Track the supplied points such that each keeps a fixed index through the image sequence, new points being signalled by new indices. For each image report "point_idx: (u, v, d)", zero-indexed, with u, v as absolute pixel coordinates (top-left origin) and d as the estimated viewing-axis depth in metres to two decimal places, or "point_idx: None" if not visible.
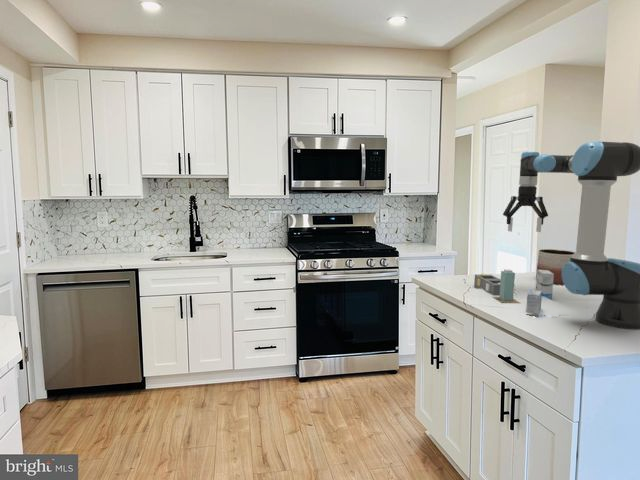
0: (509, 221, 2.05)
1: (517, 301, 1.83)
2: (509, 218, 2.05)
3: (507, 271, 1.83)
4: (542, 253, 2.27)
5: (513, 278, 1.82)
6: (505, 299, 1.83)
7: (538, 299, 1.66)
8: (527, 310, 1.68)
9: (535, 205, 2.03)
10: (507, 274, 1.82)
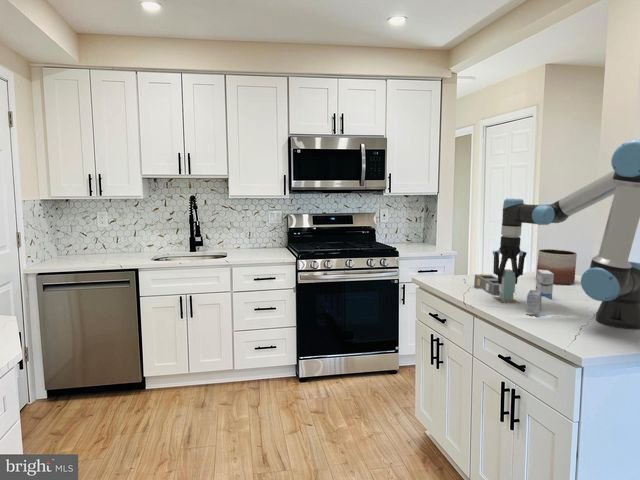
0: (500, 281, 1.84)
1: (517, 301, 1.83)
2: (500, 277, 1.83)
3: (507, 271, 1.83)
4: (542, 253, 2.27)
5: (513, 278, 1.82)
6: (505, 299, 1.83)
7: (538, 299, 1.66)
8: (527, 310, 1.68)
9: (515, 260, 1.82)
10: (507, 274, 1.82)
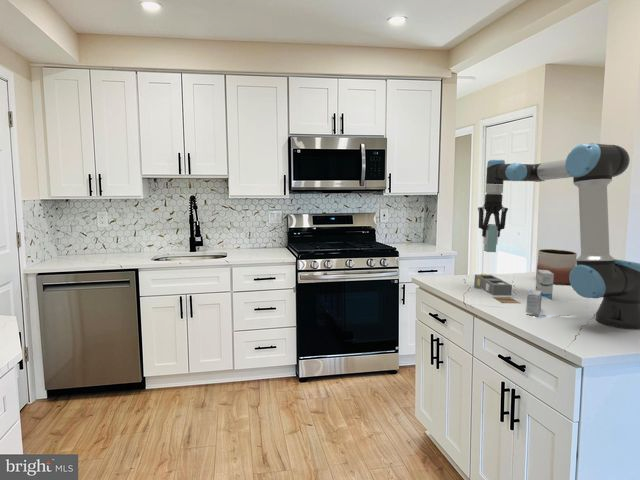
0: (484, 234, 2.05)
1: (517, 301, 1.83)
2: (484, 231, 2.05)
3: (490, 225, 2.04)
4: (542, 253, 2.27)
5: (496, 231, 2.04)
6: (488, 250, 2.05)
7: (538, 299, 1.66)
8: (527, 310, 1.68)
9: (498, 215, 2.03)
10: (490, 227, 2.04)
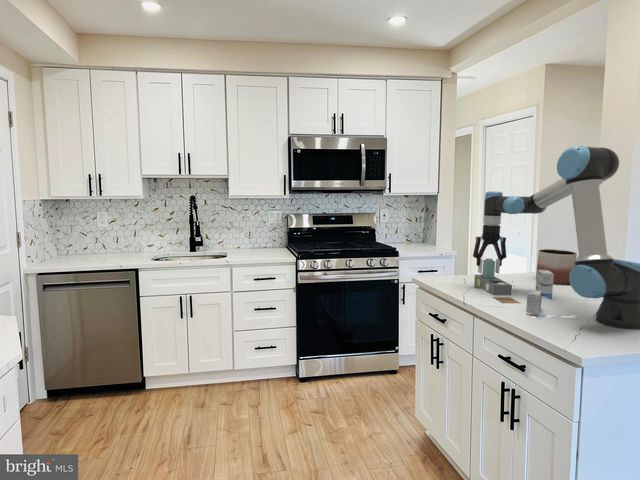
0: (479, 263, 2.07)
1: (517, 301, 1.83)
2: (479, 260, 2.07)
3: (488, 260, 2.07)
4: (542, 253, 2.27)
5: (493, 266, 2.06)
6: None
7: (538, 299, 1.66)
8: (527, 310, 1.68)
9: (497, 245, 2.05)
10: (488, 262, 2.06)
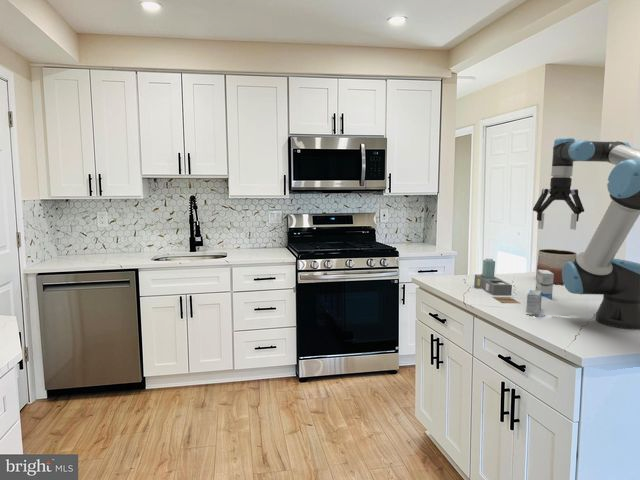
0: (540, 217, 1.81)
1: (517, 301, 1.83)
2: (540, 214, 1.80)
3: (488, 260, 2.07)
4: (542, 253, 2.27)
5: (493, 266, 2.06)
6: None
7: (538, 299, 1.66)
8: (527, 310, 1.68)
9: (570, 199, 1.79)
10: (488, 262, 2.06)
